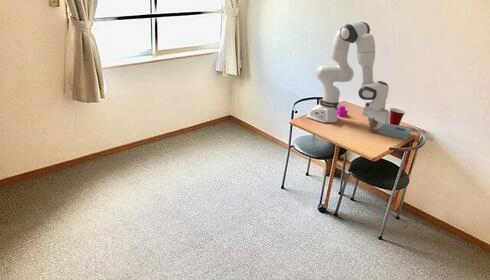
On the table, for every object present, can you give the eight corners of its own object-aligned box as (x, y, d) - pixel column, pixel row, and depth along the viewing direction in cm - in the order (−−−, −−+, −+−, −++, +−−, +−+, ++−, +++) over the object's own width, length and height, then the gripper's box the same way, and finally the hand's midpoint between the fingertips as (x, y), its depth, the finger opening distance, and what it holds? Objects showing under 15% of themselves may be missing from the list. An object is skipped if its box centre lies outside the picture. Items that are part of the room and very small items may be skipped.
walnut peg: (368, 132, 259) (371, 118, 256) (370, 130, 263) (373, 116, 259) (375, 133, 258) (378, 119, 254) (376, 131, 261) (379, 117, 257)
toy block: (346, 116, 290) (348, 106, 287) (339, 116, 288) (340, 106, 285) (337, 110, 303) (338, 101, 300) (330, 110, 302) (331, 101, 299)
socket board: (378, 133, 258) (379, 127, 257) (382, 128, 270) (383, 122, 269) (407, 140, 251) (408, 134, 249) (409, 134, 262) (411, 128, 261)
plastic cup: (405, 127, 274) (409, 111, 270) (393, 128, 270) (397, 112, 265) (394, 122, 283) (398, 107, 279) (382, 123, 279) (386, 107, 275)
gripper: (393, 110, 247) (389, 131, 252) (370, 101, 263) (366, 121, 268) (386, 111, 244) (382, 132, 249) (363, 102, 260) (359, 121, 265)
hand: (373, 126), depth 259 cm, fingers closed on walnut peg, 5 cm apart
